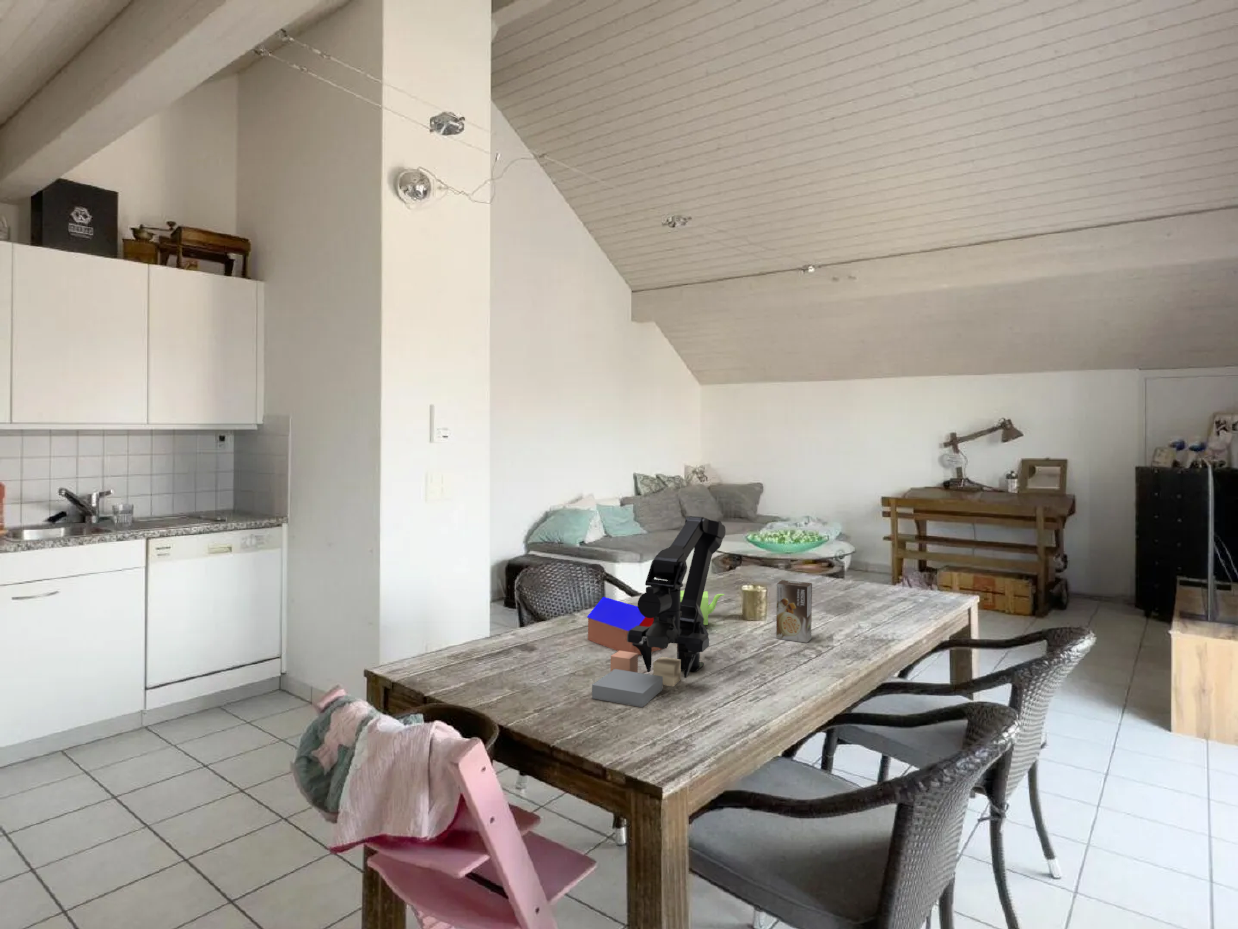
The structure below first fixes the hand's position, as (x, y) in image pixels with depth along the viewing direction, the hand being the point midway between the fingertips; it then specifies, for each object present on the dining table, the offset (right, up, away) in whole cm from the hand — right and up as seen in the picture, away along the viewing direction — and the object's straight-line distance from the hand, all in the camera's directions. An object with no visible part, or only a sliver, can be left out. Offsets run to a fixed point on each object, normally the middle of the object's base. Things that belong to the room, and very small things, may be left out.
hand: (667, 674), depth 170 cm
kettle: (+11, 0, +51) cm, 52 cm away
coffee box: (+39, -1, +38) cm, 54 cm away
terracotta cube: (-10, -2, +5) cm, 11 cm away
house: (-10, -1, +30) cm, 32 cm away
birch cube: (0, -2, 0) cm, 2 cm away
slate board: (-9, -2, -8) cm, 13 cm away
